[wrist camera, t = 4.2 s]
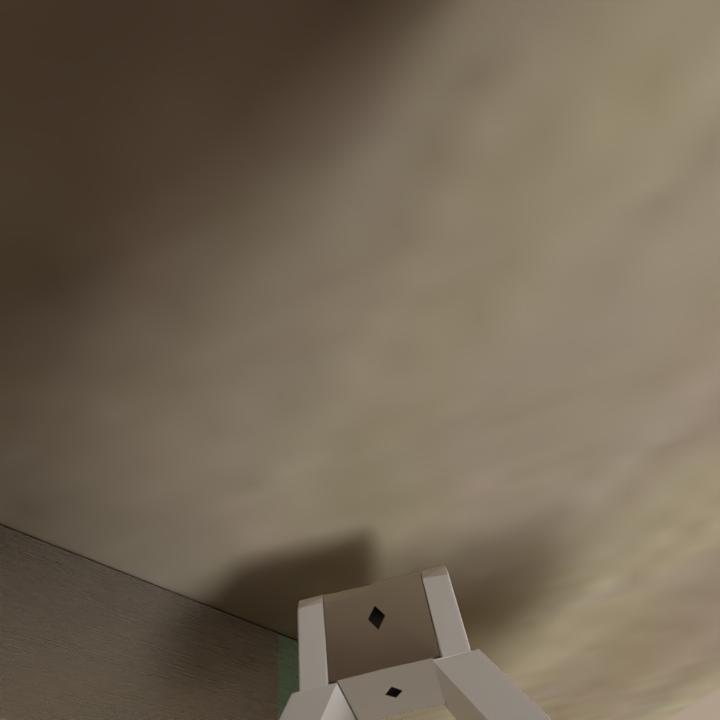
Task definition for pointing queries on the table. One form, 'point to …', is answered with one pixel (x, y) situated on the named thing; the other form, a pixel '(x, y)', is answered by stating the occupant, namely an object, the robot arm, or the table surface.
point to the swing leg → (126, 646)
